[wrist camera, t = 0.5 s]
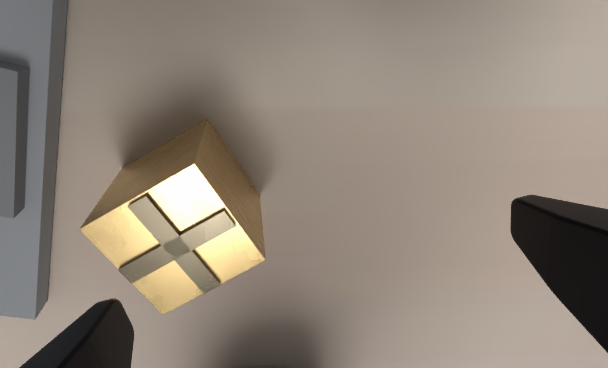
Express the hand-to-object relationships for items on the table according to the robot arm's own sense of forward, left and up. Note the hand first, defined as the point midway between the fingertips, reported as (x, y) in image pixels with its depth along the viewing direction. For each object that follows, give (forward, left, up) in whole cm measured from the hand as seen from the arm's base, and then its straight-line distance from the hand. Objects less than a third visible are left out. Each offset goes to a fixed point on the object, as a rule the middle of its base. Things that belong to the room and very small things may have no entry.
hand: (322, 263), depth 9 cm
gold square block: (-5, +3, -13) cm, 14 cm away
